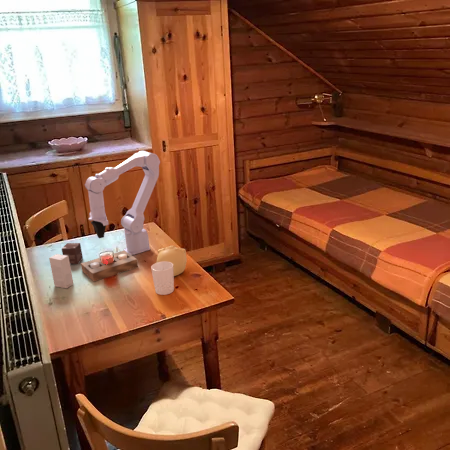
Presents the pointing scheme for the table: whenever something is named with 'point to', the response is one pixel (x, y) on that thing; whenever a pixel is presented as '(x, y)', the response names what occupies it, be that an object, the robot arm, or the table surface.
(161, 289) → the white cup
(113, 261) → the salmon pink egg
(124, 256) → the cream plug
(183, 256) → the pale yellow rounded lump
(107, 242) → the table surface
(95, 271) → the light brown rack
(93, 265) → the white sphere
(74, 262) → the box
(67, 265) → the skincare box
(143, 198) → the robot arm
